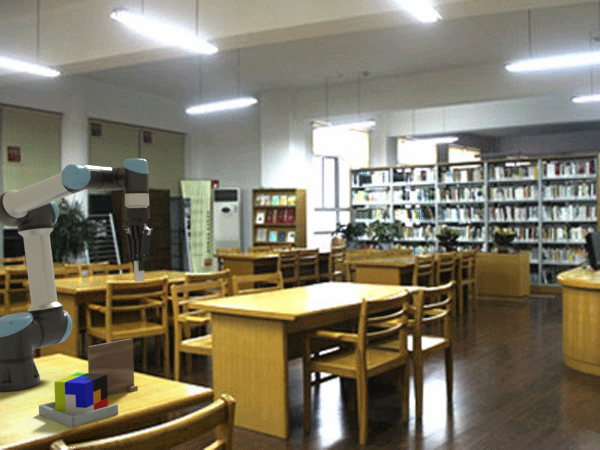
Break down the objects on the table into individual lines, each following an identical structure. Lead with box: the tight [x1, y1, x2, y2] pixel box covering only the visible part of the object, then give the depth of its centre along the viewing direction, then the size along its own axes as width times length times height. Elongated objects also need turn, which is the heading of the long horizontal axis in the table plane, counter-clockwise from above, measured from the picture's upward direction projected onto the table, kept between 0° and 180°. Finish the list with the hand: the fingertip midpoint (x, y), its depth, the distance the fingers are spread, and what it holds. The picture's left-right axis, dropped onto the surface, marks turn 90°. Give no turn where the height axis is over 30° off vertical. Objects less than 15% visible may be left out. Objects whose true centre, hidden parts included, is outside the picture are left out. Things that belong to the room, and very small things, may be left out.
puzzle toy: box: [54, 372, 109, 416], centre depth 174 cm, size 10×10×10 cm
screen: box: [87, 337, 139, 396], centre depth 192 cm, size 6×15×16 cm, turn 138°
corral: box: [38, 400, 119, 428], centre depth 173 cm, size 18×14×2 cm
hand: (139, 281), depth 198 cm, fingers closed
